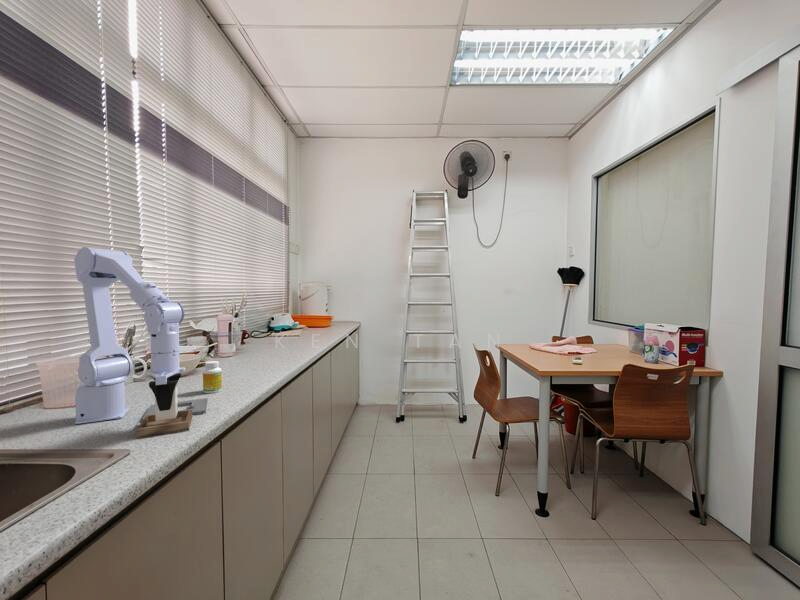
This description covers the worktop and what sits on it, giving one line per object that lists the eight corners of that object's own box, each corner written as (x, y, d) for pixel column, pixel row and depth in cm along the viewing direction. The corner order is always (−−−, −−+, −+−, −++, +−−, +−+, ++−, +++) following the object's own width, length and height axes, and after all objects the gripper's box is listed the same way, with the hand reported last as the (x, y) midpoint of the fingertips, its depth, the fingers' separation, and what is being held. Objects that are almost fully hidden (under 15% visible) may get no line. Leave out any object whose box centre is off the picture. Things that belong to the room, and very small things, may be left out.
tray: (136, 438, 77) (136, 429, 77) (145, 423, 86) (145, 415, 86) (188, 430, 81) (188, 421, 81) (192, 416, 90) (192, 408, 90)
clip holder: (141, 422, 86) (141, 416, 86) (151, 407, 97) (150, 402, 97) (205, 413, 92) (205, 407, 92) (207, 400, 103) (207, 395, 103)
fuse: (155, 421, 81) (154, 387, 81) (158, 415, 84) (157, 383, 84) (175, 418, 83) (175, 385, 82) (177, 412, 86) (177, 381, 86)
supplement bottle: (216, 393, 110) (215, 363, 110) (199, 393, 110) (199, 363, 110) (224, 388, 116) (224, 360, 115) (209, 388, 116) (208, 360, 115)
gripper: (181, 355, 78) (182, 413, 79) (187, 346, 91) (188, 396, 92) (143, 357, 75) (144, 419, 76) (155, 348, 88) (156, 400, 88)
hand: (166, 407), depth 83 cm, fingers closed on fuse, 4 cm apart
